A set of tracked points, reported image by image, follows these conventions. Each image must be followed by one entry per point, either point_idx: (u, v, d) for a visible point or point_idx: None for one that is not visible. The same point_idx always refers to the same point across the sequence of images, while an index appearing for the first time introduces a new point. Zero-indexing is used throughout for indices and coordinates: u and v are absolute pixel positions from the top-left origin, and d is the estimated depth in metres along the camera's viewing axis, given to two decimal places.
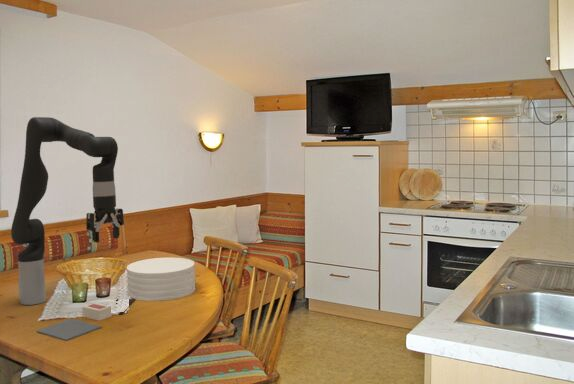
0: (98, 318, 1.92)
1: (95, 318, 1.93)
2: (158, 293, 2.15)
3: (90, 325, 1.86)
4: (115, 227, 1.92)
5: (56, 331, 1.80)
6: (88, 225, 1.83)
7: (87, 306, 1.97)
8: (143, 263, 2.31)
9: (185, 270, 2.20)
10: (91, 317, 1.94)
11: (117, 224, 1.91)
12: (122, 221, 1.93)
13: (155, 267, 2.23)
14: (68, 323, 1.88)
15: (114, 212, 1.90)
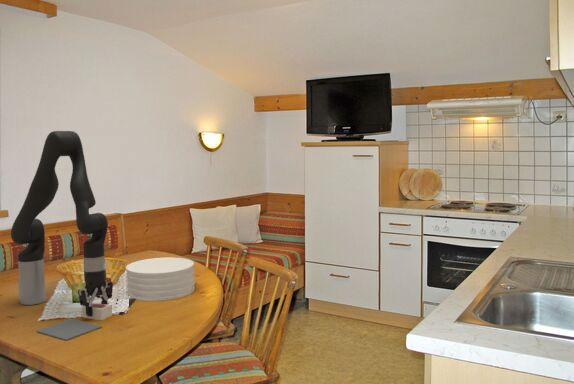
0: (100, 317, 1.93)
1: (97, 317, 1.93)
2: (157, 293, 2.15)
3: (90, 325, 1.86)
4: (103, 300, 1.99)
5: (56, 331, 1.80)
6: (81, 301, 1.92)
7: None
8: (142, 263, 2.31)
9: (184, 270, 2.20)
10: (92, 316, 1.94)
11: (105, 298, 1.98)
12: (110, 294, 2.00)
13: (154, 267, 2.23)
14: (68, 323, 1.88)
15: (104, 284, 1.98)
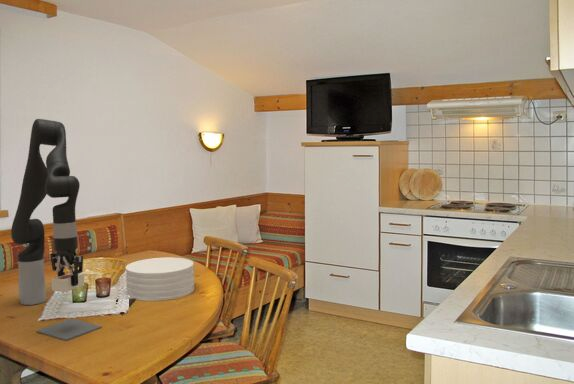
0: None
1: None
2: (157, 293, 2.15)
3: (90, 325, 1.86)
4: None
5: (56, 331, 1.80)
6: None
7: None
8: (142, 263, 2.31)
9: (184, 270, 2.20)
10: None
11: (70, 271, 1.79)
12: (75, 270, 1.78)
13: (154, 267, 2.23)
14: (68, 323, 1.88)
15: (69, 256, 1.79)
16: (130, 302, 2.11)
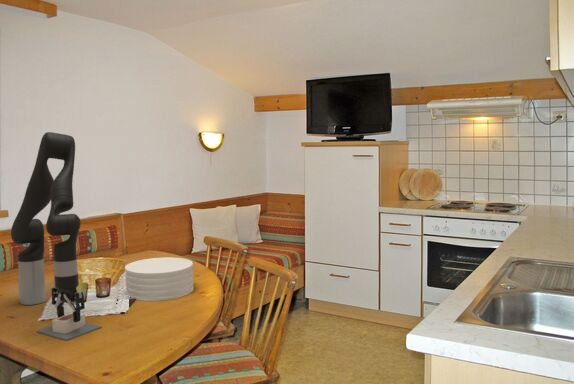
0: None
1: None
2: (156, 293, 2.15)
3: (90, 325, 1.86)
4: None
5: None
6: None
7: (72, 313, 1.86)
8: (141, 263, 2.31)
9: (183, 270, 2.20)
10: None
11: (72, 308, 1.79)
12: (77, 306, 1.78)
13: (153, 267, 2.23)
14: None
15: (70, 294, 1.79)
16: (130, 302, 2.12)
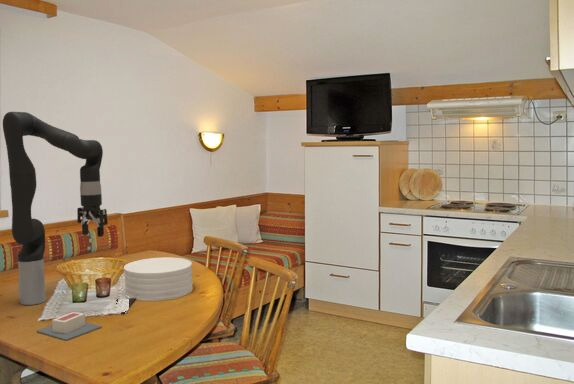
0: None
1: None
2: (155, 293, 2.15)
3: (90, 325, 1.86)
4: None
5: None
6: None
7: (72, 313, 1.86)
8: (140, 263, 2.31)
9: (182, 270, 2.20)
10: None
11: (97, 223, 2.01)
12: (101, 222, 2.00)
13: (152, 267, 2.23)
14: None
15: (94, 211, 2.01)
16: (131, 302, 2.12)
